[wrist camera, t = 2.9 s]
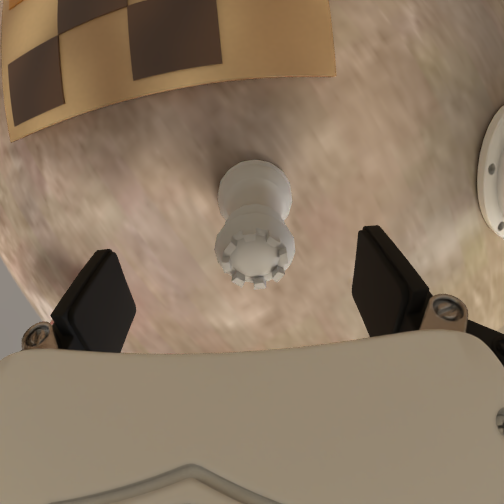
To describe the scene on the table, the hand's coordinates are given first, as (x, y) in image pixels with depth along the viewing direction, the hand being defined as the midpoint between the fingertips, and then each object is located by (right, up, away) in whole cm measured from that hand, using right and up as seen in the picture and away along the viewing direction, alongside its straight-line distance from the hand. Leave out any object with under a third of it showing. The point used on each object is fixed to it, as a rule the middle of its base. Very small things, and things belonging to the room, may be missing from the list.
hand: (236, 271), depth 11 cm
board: (-7, +17, 0) cm, 18 cm away
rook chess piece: (+1, +5, +7) cm, 9 cm away
